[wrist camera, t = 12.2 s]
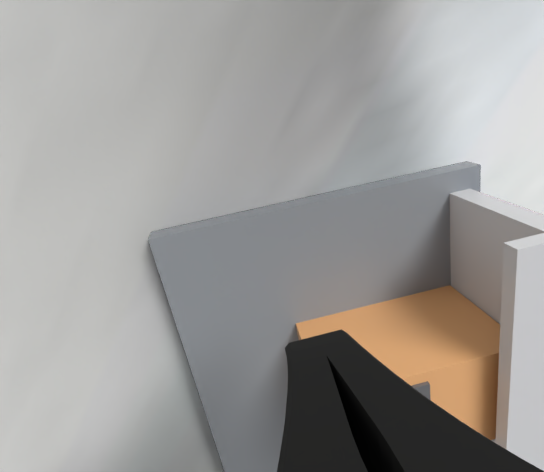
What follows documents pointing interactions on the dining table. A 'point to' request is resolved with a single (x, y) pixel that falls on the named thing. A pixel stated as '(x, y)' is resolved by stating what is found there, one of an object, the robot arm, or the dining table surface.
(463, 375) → the block
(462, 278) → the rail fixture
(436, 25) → the dining table surface
